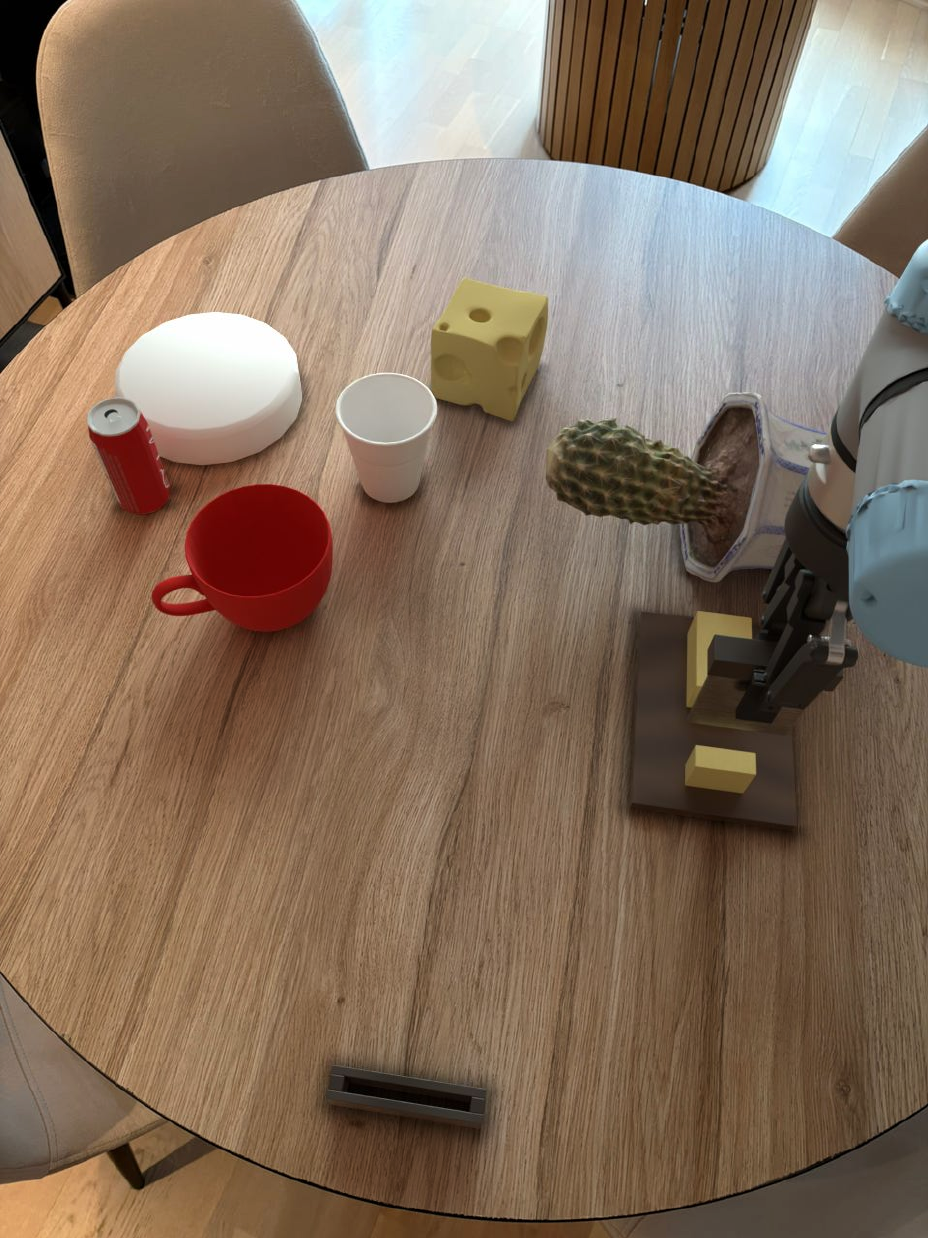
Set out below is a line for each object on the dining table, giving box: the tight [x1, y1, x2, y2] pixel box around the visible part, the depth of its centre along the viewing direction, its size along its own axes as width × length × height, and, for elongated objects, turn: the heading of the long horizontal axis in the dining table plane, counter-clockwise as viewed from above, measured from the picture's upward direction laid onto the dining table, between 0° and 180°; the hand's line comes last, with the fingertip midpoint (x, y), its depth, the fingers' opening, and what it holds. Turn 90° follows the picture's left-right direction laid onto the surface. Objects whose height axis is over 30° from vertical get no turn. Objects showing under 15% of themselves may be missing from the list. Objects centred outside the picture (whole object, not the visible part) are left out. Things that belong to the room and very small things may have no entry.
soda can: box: [86, 396, 172, 515], centre depth 95 cm, size 6×6×12 cm
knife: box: [687, 634, 844, 736], centre depth 72 cm, size 9×2×11 cm, turn 82°
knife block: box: [325, 1064, 487, 1130], centre depth 68 cm, size 11×2×4 cm, turn 82°
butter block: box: [686, 610, 753, 708], centre depth 87 cm, size 8×5×4 cm, turn 172°
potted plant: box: [545, 391, 827, 583], centre depth 90 cm, size 18×18×30 cm
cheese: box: [430, 276, 549, 422], centre depth 106 cm, size 10×11×10 cm
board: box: [629, 610, 798, 832], centre depth 87 cm, size 20×14×1 cm
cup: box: [334, 372, 438, 504], centre depth 97 cm, size 10×10×11 cm
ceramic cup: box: [151, 483, 334, 632], centre depth 88 cm, size 13×17×10 cm
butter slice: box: [685, 745, 756, 794], centre depth 81 cm, size 2×5×4 cm, turn 82°
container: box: [113, 311, 303, 466], centre depth 106 cm, size 20×20×5 cm
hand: (752, 700), depth 73 cm, fingers closed on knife, 2 cm apart
